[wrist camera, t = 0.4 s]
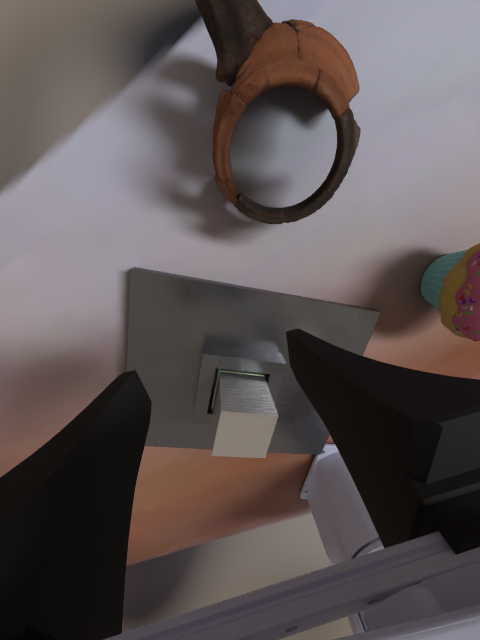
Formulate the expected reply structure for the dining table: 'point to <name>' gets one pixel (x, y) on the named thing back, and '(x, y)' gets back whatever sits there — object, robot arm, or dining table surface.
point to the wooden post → (242, 414)
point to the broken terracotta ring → (270, 72)
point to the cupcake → (456, 291)
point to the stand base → (228, 353)
